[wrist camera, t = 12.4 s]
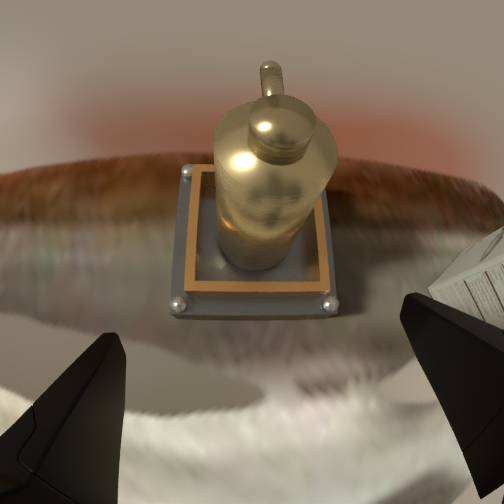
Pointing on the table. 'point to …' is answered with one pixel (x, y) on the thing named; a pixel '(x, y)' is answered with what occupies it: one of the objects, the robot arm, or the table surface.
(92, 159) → the table surface
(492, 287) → the supplement box
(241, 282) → the grey square tray
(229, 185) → the spout can
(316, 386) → the table surface
